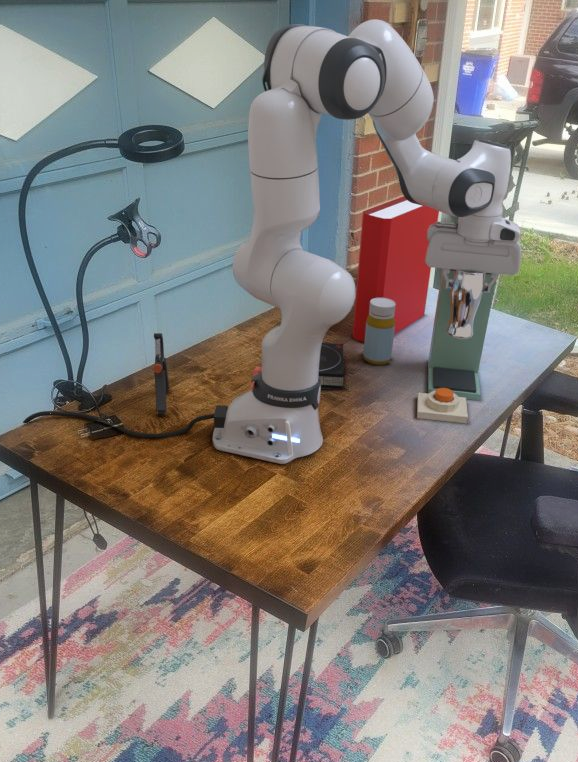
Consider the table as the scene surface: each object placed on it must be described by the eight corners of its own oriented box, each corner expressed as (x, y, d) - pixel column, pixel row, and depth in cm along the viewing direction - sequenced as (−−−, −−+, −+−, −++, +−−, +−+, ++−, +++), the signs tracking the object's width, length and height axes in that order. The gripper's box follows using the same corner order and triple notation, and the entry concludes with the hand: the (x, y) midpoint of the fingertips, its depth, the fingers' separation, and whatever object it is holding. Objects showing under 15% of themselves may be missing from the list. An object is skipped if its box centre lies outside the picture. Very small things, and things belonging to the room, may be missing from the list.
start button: (434, 402, 161) (435, 395, 160) (434, 393, 164) (435, 386, 163) (452, 404, 160) (453, 397, 159) (452, 395, 164) (453, 388, 163)
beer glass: (473, 341, 162) (486, 275, 153) (442, 337, 163) (453, 271, 154) (475, 329, 168) (487, 265, 159) (445, 325, 169) (456, 261, 160)
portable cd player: (271, 387, 167) (271, 371, 165) (276, 355, 181) (276, 340, 179) (342, 391, 168) (343, 375, 166) (341, 358, 182) (343, 344, 179)
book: (400, 308, 212) (414, 192, 192) (424, 315, 208) (440, 198, 189) (349, 337, 193) (359, 212, 173) (375, 346, 189) (388, 219, 170)
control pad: (416, 418, 161) (419, 404, 158) (417, 399, 168) (419, 385, 166) (466, 423, 160) (469, 409, 158) (464, 404, 167) (467, 390, 165)
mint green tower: (426, 394, 170) (444, 280, 153) (426, 361, 184) (442, 253, 168) (480, 400, 169) (503, 286, 153) (476, 366, 184) (497, 259, 168)
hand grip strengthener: (155, 418, 153) (149, 352, 144) (159, 390, 163) (153, 327, 154) (167, 418, 153) (161, 352, 144) (169, 390, 163) (164, 327, 154)
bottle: (376, 368, 179) (382, 310, 170) (357, 357, 183) (362, 300, 174) (396, 361, 183) (403, 304, 174) (377, 351, 187) (383, 294, 178)
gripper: (428, 224, 149) (420, 290, 157) (528, 234, 148) (514, 299, 157) (428, 216, 154) (420, 280, 162) (525, 225, 153) (511, 289, 162)
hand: (467, 290), depth 159 cm, fingers closed on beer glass, 7 cm apart
